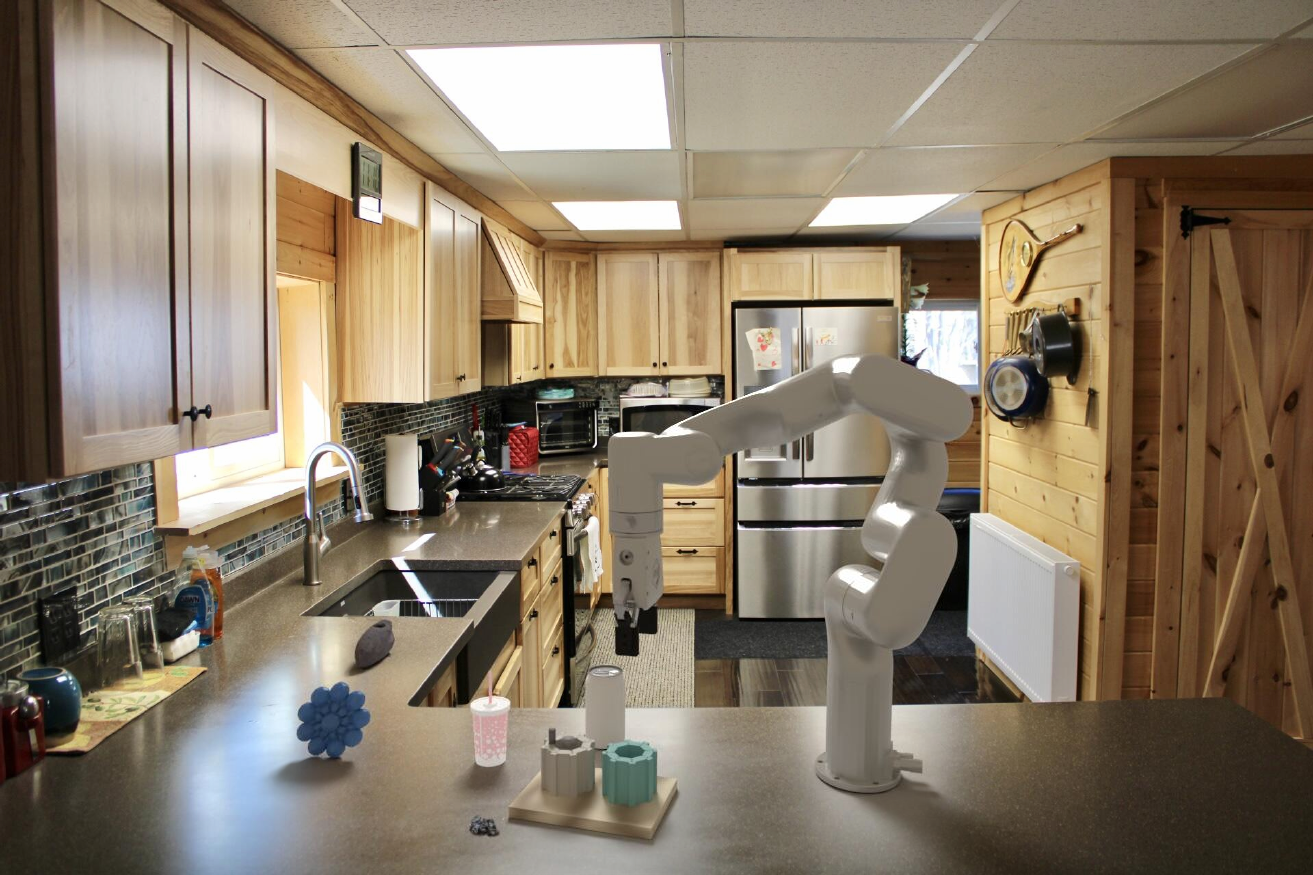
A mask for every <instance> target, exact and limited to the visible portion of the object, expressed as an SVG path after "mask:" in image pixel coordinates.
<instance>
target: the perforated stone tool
mask: <svg viewBox="0 0 1313 875" xmlns="http://www.w3.org/2000/svg"><path fill="white" fill-rule="evenodd" d="M392 623H393V622H392V621H391V620H389V619H381V620H379V621H378V622H375V623H374V624H373V625H371V626H369V627H368V628H367V629H366V630H365V631H364V633H363V634H362V635H361V636H360V638H359V639H358V640H357V643H356V646H355V649H354V660H355V663H356V665H357V666H358V667H359V668H362V669H363V668H368V667H371V666H372V665H374V664H376V663H378V662H380V660H382V659H383V658H385V657H386V656H387V655H388V654H389V652H390V651H391V650H392V649H393V647H394V645H395V641H396V640H395V634H394V633H393V624H392Z"/></svg>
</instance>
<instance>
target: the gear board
mask: <svg viewBox="0 0 1313 875" xmlns="http://www.w3.org/2000/svg"><path fill="white" fill-rule="evenodd" d="M677 790H678V778H673V777H667V776H659V775H657V793H653V800H652V801H651V802H649V803H648V802H642V803H639V804H636V806H635V807H629V805H626V804H619V803H616V804H615V805H614V804H611V803H609V798H608V797H607V796H602V767H595V783H593V790H591V791H590V792H583V793H580V794H578V795H577V797H573V798H570V796H559V795H558V796H556V797H554V796H550V792H549V791H548V790H546V789H545V790H542V788H541V769H540V770H539V772H538V773H537V774H536V775H535V776H534V777H533V778H532V779H531V781H529V783H528V784H527V785H526V786H525V787H524V788H523V790H522V791H521V792H520V793H519V794H518V795H517V796H516V798H515V799H513V801H512V802H511V803H510V804H509V806H508V807H507V808H508V818H509V819H517V820H523V821H530V822H536V823H542V824H549V825H554V826H562V827H568V828H573V829H580V830H588V831H592V832H593V831H594V832H600V833H605V834H606V833H607V834H613V835H619V836H625V837H631V838H638V839H645V840H652V839H653V836H654V835H655V833H656V831H657V830H658V827H659V825H660V823H661V822H662V819H663V817H664V815H665V813H666V811H667V809H668V807H669V806H670V804H671V802H672V800H673V798H674V796H675V793H676V792H677Z"/></svg>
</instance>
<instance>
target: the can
mask: <svg viewBox="0 0 1313 875" xmlns="http://www.w3.org/2000/svg"><path fill="white" fill-rule="evenodd" d="M587 671H588V674H587V676H586V678H585V693H584V694H585V697H584V698H585V703H584V704H585V708H584V709H585V713H584V714H585V715H584V716H585V718H584V722H585V723H584V724H585V726H584V727H585V737H586V738H588V739H590V740H592V739H594V741H595V748H596V749H595V750H599V749H607V745H608V744H610V743H613V744H615V743H620V742H624V740H626V678H625V676H624V673H623V671H624V670H623V668H622V667H621V666H619V665H615V664H597V665H593V666H592V667H590V668H589V669H588V670H587Z"/></svg>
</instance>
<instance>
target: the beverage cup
mask: <svg viewBox="0 0 1313 875" xmlns="http://www.w3.org/2000/svg"><path fill="white" fill-rule="evenodd" d="M492 678H493V671H492V670H491V671H490V670H489V671H488V696H483V697H480V698H479V697H478V698H477V699H475V700H473V701H472V702H470V706H469V707H470V712H471V714H472V727H473V728H472V729H473V739H474V742H473V743H474V753H475V754H474V756H475V763H476V764H477V765H478V766H480V767H486V768H489V767H490V768H491V767H496V766H497V767H498V766H500V765H502V764H504V763H505V762H506V758H507V741H508V740H507V739H508V725H509V724H508V723H509V711H510V710H511V700H509V699H508V698H507V697H503V696H497V695H495V696H493V684H492V682H493V679H492Z"/></svg>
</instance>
